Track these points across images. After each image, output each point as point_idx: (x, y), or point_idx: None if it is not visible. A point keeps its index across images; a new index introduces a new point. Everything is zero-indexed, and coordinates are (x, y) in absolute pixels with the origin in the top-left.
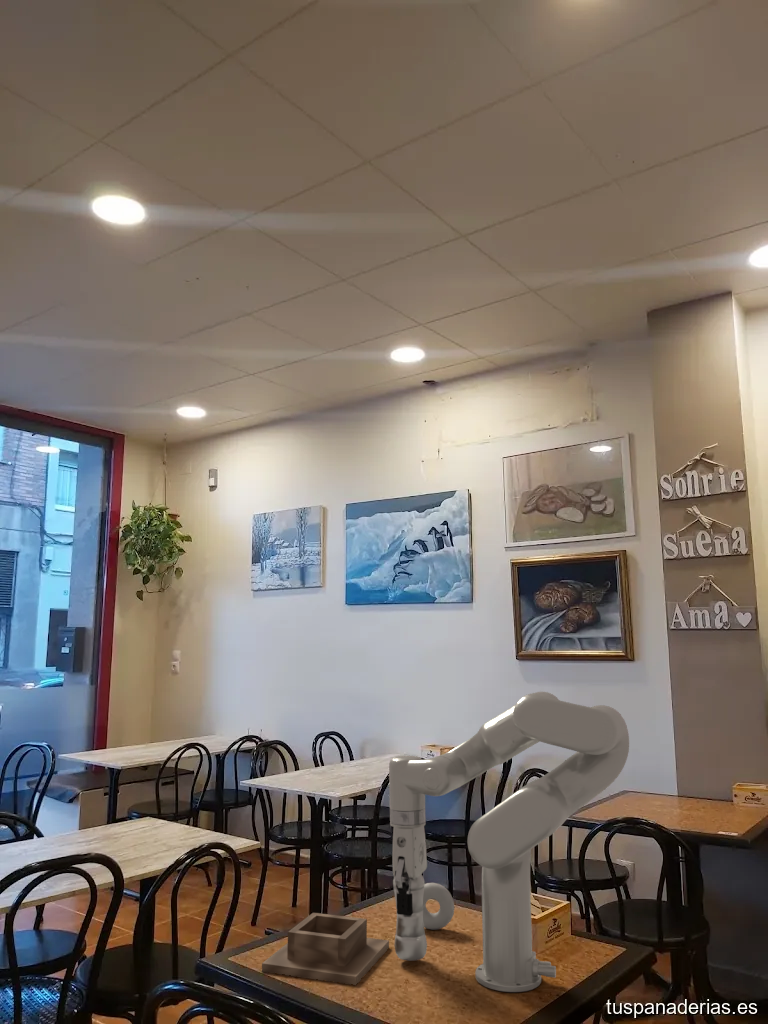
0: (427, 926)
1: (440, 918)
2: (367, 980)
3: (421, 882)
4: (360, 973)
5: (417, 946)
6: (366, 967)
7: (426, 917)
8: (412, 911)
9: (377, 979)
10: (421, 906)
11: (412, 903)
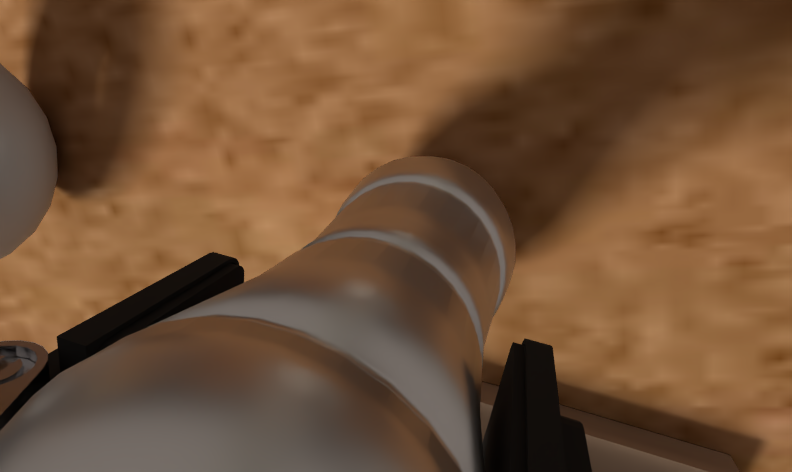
0: (54, 172)
1: (3, 109)
2: (667, 408)
3: (308, 443)
4: (677, 457)
5: (501, 213)
6: (588, 428)
7: (17, 183)
8: (535, 350)
9: (655, 367)
10: (392, 263)
11: (529, 398)
